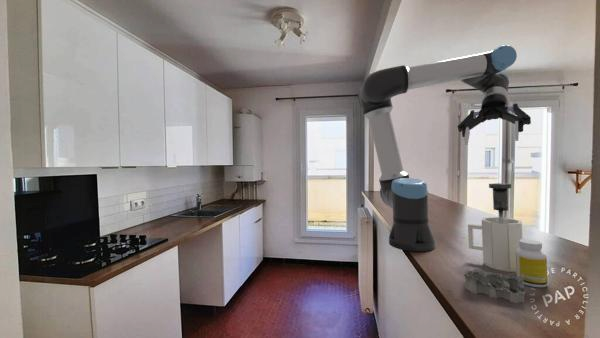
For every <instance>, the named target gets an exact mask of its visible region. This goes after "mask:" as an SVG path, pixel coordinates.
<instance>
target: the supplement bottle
mask: <svg viewBox="0 0 600 338" xmlns="http://www.w3.org/2000/svg"><path fill="white" fill-rule="evenodd" d="M519 246H520V247H521V248H519V249H517V250H516V272H515V275H516V276H515V277H519V276H522V277H523V280H524V286H528V287H533V288H546V287H547V286H548V266H547V265H548V262H547V260H548V257H547V255H546V253H545V252H544V251H542V250H543V243H542V242H541V241H539V240H536V239H528V238H525V239H524V238H523V239H521V240H519Z"/></svg>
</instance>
